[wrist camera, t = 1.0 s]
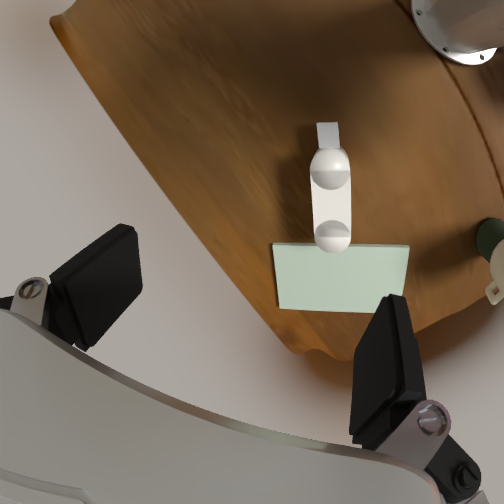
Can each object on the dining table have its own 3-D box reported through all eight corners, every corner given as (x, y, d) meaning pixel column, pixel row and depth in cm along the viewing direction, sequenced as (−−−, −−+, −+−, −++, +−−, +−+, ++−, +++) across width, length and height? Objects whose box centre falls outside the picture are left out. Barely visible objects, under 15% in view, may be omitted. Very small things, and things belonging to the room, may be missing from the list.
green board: (408, 245, 36) (409, 247, 36) (397, 309, 42) (398, 312, 41) (273, 242, 43) (272, 245, 42) (280, 305, 48) (279, 308, 48)
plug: (345, 120, 31) (347, 123, 26) (349, 232, 38) (350, 253, 33) (310, 121, 32) (305, 125, 28) (319, 231, 40) (314, 252, 35)
